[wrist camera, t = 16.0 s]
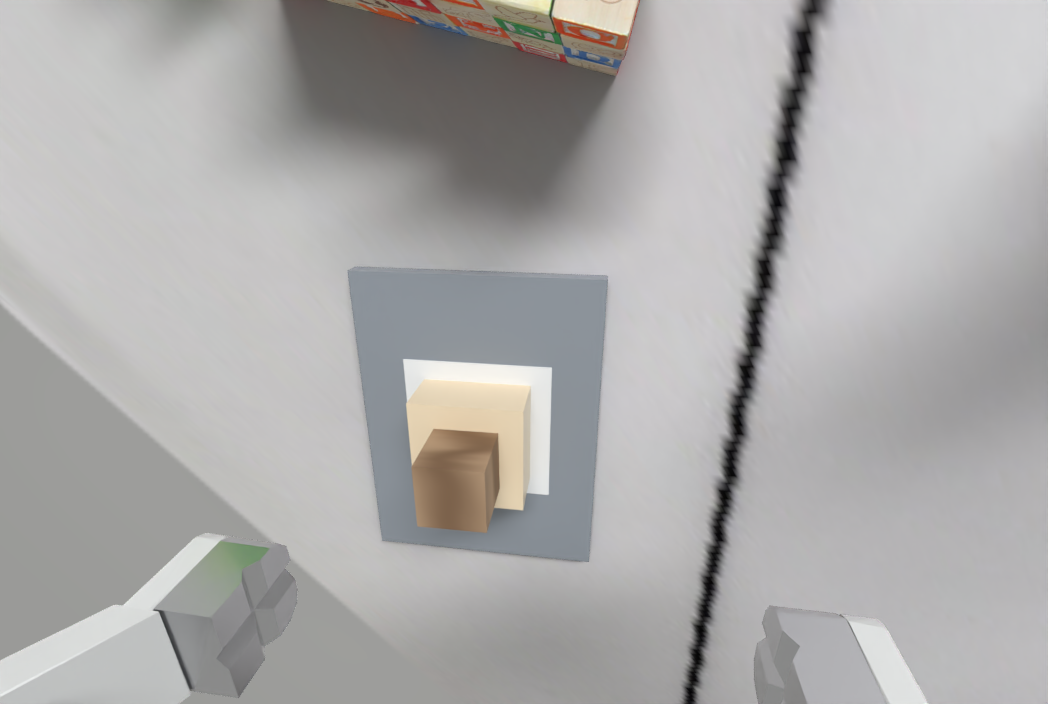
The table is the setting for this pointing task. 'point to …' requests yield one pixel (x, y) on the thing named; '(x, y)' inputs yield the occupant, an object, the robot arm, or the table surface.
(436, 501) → the walnut cube
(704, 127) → the table surface
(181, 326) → the table surface
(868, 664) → the robot arm
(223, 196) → the table surface
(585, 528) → the board
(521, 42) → the stack of blocks
